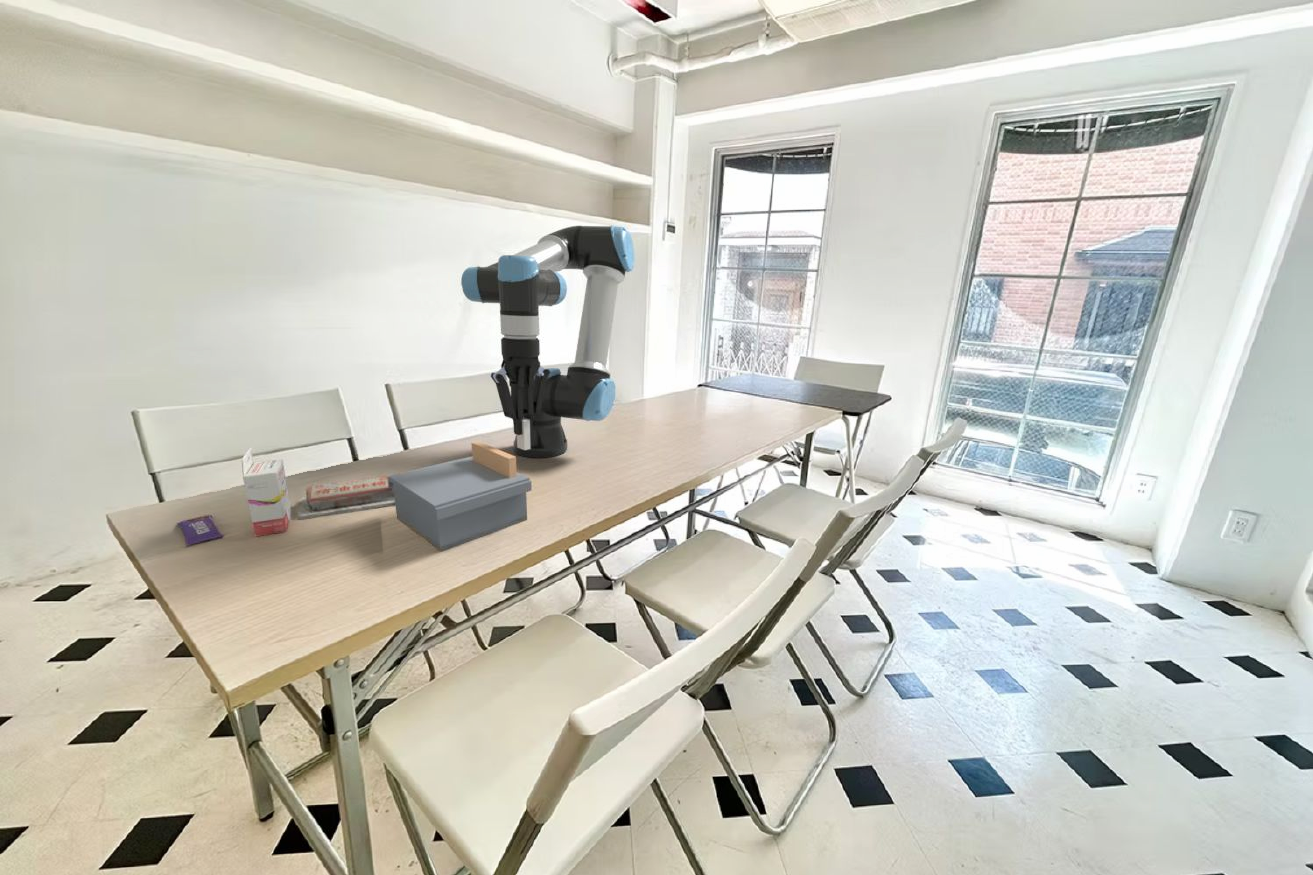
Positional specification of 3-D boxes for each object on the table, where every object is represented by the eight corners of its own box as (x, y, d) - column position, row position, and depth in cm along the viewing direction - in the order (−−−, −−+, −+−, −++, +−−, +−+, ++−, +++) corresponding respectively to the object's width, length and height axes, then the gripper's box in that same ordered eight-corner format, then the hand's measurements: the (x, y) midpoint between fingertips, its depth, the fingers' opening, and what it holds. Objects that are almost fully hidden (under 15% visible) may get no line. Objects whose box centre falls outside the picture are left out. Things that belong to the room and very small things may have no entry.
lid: (477, 464, 111) (475, 436, 109) (531, 490, 99) (530, 459, 97) (388, 487, 97) (384, 455, 96) (437, 520, 85) (434, 484, 83)
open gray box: (480, 494, 112) (477, 460, 110) (527, 520, 101) (525, 483, 99) (397, 518, 99) (392, 481, 97) (440, 551, 88) (436, 510, 86)
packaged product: (396, 470, 112) (398, 485, 104) (398, 489, 114) (401, 506, 105) (299, 481, 104) (293, 499, 96) (303, 503, 105) (297, 522, 97)
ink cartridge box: (288, 531, 92) (273, 456, 88) (254, 537, 90) (238, 460, 86) (293, 513, 100) (280, 443, 95) (262, 518, 97) (247, 446, 93)
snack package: (222, 531, 89) (184, 540, 85) (224, 540, 90) (187, 550, 86) (210, 510, 96) (175, 518, 93) (212, 519, 97) (177, 527, 93)
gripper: (536, 334, 108) (538, 438, 114) (480, 336, 98) (487, 450, 105) (557, 337, 103) (559, 446, 110) (502, 339, 94) (507, 458, 100)
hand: (523, 448), depth 107 cm, fingers closed
